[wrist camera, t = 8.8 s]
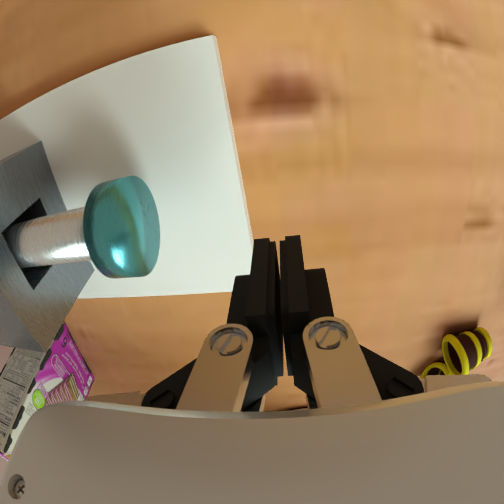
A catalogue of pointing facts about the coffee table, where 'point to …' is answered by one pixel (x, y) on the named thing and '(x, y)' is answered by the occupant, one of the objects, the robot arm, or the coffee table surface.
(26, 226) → the steel shaft
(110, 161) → the mounting board
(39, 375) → the candy bar box
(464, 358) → the opera glasses
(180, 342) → the coffee table surface
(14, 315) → the shaft housing
